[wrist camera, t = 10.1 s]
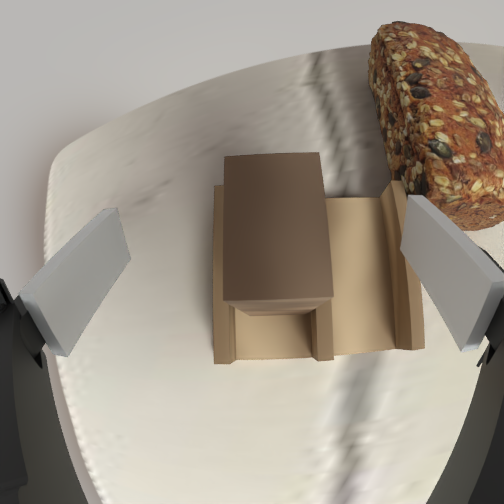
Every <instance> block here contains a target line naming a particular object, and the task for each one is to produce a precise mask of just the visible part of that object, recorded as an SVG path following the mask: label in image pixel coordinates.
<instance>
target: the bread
mask: <svg viewBox="0 0 504 504" xmlns="http://www.w3.org/2000/svg"><path fill="white" fill-rule="evenodd" d="M369 54H370V58H369V60H368V64H369V70H368V78H369V86H370V87H371V89H372V93H373V96H374V100H375V104H376V111H377V115H378V120H379V122H380V127H381V134H382V135H383V142H384V147H385V152H386V156H387V161H388V167H389V169H390V171H391V175H392V177H391V180H392V181H403V184H404V188H405V192H406V197H407V200H408V195H423V196H424V197H425V198H426V199H427V200H429V201H430V202H431V203H432V204H433V205H434V206H436V207H437V208H438V209H439V210H440V211H441V212H442V213H444V214H445V215H446V216H447V217H448V218H449V219H450V220H451V221H452V222H453V223H455V224H456V225H457V226H458V227H459V228H460V229H461V230H462V231H476V230H481V229H485V228H489V227H493V226H495V225H496V224H499V223H500V222H502V221H504V114H503V112H502V111H501V110H500V108H499V107H498V104H497V102H496V100H495V97H494V96H493V94H492V92H491V90H490V88H489V86H488V82H487V81H486V80H485V79H484V78H483V77H482V75H481V74H480V73H479V72H478V70H477V69H476V68H475V67H474V65H473V63H472V61H471V59H469V56H468V55H467V54H466V53H465V52H464V51H463V49H462V47H461V46H460V45H459V44H457V43H456V42H455V41H454V40H452V39H450V38H448V37H447V36H446V35H445V34H444V33H442V32H436V31H435V30H434V29H432V28H431V27H427V26H424V25H420V24H415V23H414V24H413V23H406V22H401V21H396V22H392V24H386V25H381V27H380V28H379V29H378V32H377V34H376V35H375V37H373V38H372V41H371V52H370V53H369Z"/></svg>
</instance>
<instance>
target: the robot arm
mask: <svg viewBox="0 0 504 504" xmlns="http://www.w3.org/2000/svg"><path fill="white" fill-rule="evenodd" d="M400 250H401V252H402V253H403V255H404V256H405V258H406V259H407V261H408V262H409V264H410V265H411V267H412V268H413V270H414V272H415V273H416V275H417V276H418V278H419V279H420V281H421V283H422V284H423V286H424V287H425V289H426V291H427V292H428V294H429V296H430V297H431V299H432V301H433V302H434V304H435V306H436V307H437V309H438V311H439V313H440V314H441V316H442V318H443V320H444V321H445V323H446V325H447V327H448V329H449V331H450V332H451V334H452V336H453V338H454V340H455V342H456V344H457V346H458V347H459V349H460V351H461V352H465V351H470V350H474V349H478V347H479V345H480V344H481V342H482V340H483V338H484V336H485V335H486V337H487V339H488V340H489V342H490V343H489V344H488V346H487V348H486V350H485V352H484V353H483V355H482V357H481V359H480V360H479V362H478V364H477V367H479V366H480V364H481V363H482V366H481V370H480V374H479V378H478V381H477V385H476V388H475V392H474V395H473V398H472V401H471V404H470V407H469V410H468V413H467V416H466V419H465V421H464V424H463V427H462V429H461V432H460V435H459V437H458V440H457V442H456V444H455V447H454V449H453V451H452V454H451V456H450V458H449V460H448V462H447V465H446V467H445V469H444V471H443V473H442V475H441V477H440V479H439V481H438V483H437V485H436V486H435V488H434V490H433V492H432V494H431V496H430V497H429V499H428V501H427V503H426V504H504V270H503V269H502V267H501V266H500V267H499V264H498V263H497V262H496V261H495V260H493V258H492V257H491V256H490V255H489V254H488V253H487V252H486V251H485V250H483V249H482V248H480V247H479V246H477V245H476V244H475V243H474V242H473V241H472V240H471V239H470V238H469V237H468V236H467V235H466V234H465V233H464V232H463V231H462V230H461V229H460V228H459V227H458V226H457V225H456V224H455V223H453V222H452V221H451V220H450V219H449V218H448V217H447V216H446V215H445V214H444V213H442V212H441V211H440V210H439V209H438V208H437V207H436V206H434V205H433V204H432V203H431V202H430V201H429V200H427V199H426V198H425V197H424V196H423V195H408V200H407V208H406V215H405V222H404V228H403V235H402V241H401V247H400ZM130 259H131V257H130V254H129V250H128V247H127V243H126V240H125V236H124V232H123V229H122V225H121V221H120V217H119V213H118V209H117V208H110V209H104V210H102V211H101V212H100V213H99V214H98V215H97V216H96V217H94V218H93V219H92V220H91V221H90V222H89V223H88V224H87V225H86V226H84V227H83V228H82V229H81V230H80V231H79V232H78V233H77V234H76V235H75V236H74V237H73V238H72V239H70V240H69V241H68V242H67V243H66V244H65V245H64V246H63V247H62V248H61V249H60V250H59V251H58V252H57V253H56V254H55V255H54V256H53V257H52V258H51V259H50V260H49V261H48V262H47V263H46V264H45V265H44V266H43V267H42V268H41V269H40V270H39V271H38V272H37V274H36V275H35V276H34V277H33V278H32V279H31V280H30V281H29V282H28V283H27V284H26V285H25V286H24V288H23V289H22V290H21V291H20V292H19V295H18V296H17V297H16V299H15V300H13V298H12V297H11V294H10V292H9V291H8V288H7V286H6V284H5V282H4V280H3V279H0V504H88V502H87V500H86V497H85V495H84V492H83V490H82V488H81V485H80V483H79V480H78V478H77V475H76V472H75V470H74V467H73V464H72V461H71V458H70V456H69V452H68V449H67V446H66V443H65V439H64V436H63V433H62V429H61V425H60V422H59V418H58V414H57V410H56V406H55V401H54V397H53V393H52V388H51V383H50V378H49V372H48V366H47V360H46V356H45V353H44V352H43V350H42V347H43V346H44V344H45V343H46V344H47V345H48V347H49V349H50V350H51V352H52V353H53V354H54V355H59V356H64V357H68V356H69V355H70V353H71V351H72V349H73V348H74V346H75V344H76V343H77V341H78V339H79V338H80V336H81V334H82V333H83V331H84V329H85V328H86V326H87V324H88V323H89V321H90V320H91V318H92V316H93V315H94V313H95V312H96V310H97V308H98V307H99V305H100V304H101V302H102V301H103V299H104V298H105V296H106V295H107V293H108V292H109V290H110V289H111V287H112V286H113V284H114V283H115V281H116V280H117V278H118V277H119V275H120V274H121V272H122V271H123V269H124V268H125V267H126V265H127V264H128V262H129V261H130Z"/></svg>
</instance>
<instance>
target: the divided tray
mask: <svg viewBox="0 0 504 504" xmlns="http://www.w3.org/2000/svg"><path fill="white" fill-rule="evenodd" d="M325 200H326V209H327V218H328V228H329V238H330V249H331V261H332V275H333V290H334V297H333V298H331V299H330V300H328V301H327V302H325V303H323V304H322V305H320V306H319V307H317V308H315V309H314V310H312V311H311V312H309V313H307V314H299V315H274V316H249V315H247V314H245V313H244V312H242V311H240V310H238V309H236V308H235V307H233V306H231V305H229V304H227V303H226V302H224V301H223V203H224V185H220V186H214V225H213V345H214V364H231V363H232V362H234V361H235V360H264V359H292V358H310V357H313V358H314V359H315V360H317V361H329V360H334V356H336V355H347V354H357V353H366V352H375V351H383V350H390V349H403V350H418V349H424V348H425V339H424V318H423V304H422V293H421V283H420V279H419V278H418V276H417V275H416V273H415V272H414V270H413V268H412V267H411V265H410V264H409V262H408V261H407V259H406V258H405V256H404V255H403V253H402V252H401V250H400V247H401V241H402V235H403V228H404V222H405V215H406V208H407V197H406V192H405V188H404V184H403V181H390V183H389V184H388V186H387V187H386V189H385V190H384V192H383V193H382V195H381V196H380V197H366V198H325Z"/></svg>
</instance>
